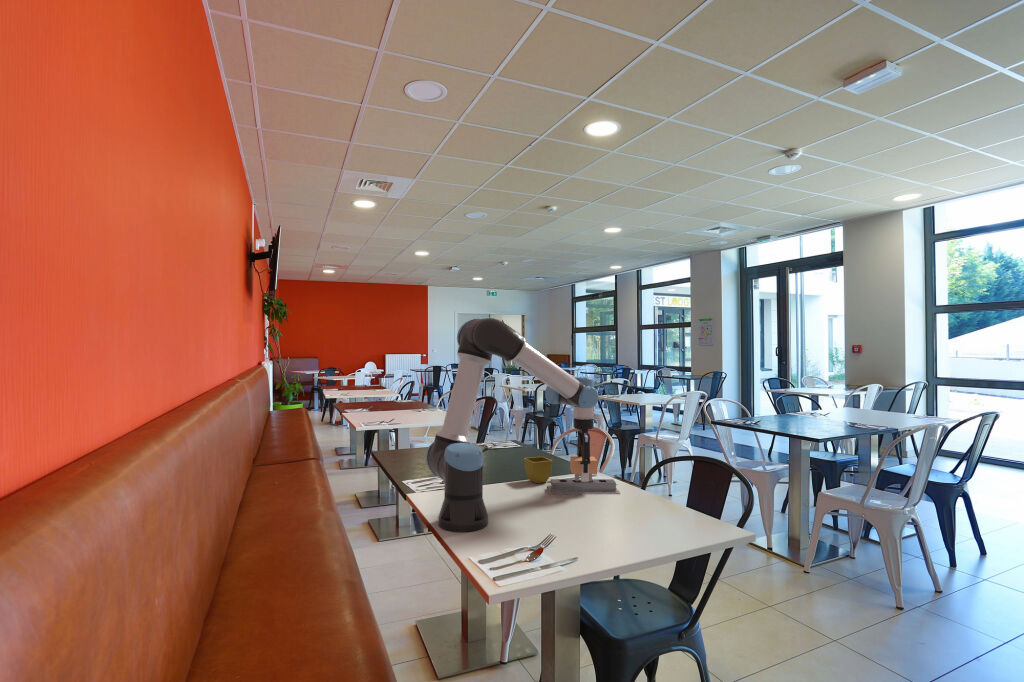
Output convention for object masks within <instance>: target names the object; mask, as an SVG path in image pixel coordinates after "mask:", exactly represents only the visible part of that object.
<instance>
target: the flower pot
mask: <svg viewBox="0 0 1024 682" xmlns="http://www.w3.org/2000/svg"><path fill="white" fill-rule="evenodd" d="M523 461H524V469H525V473H526V476H527V478H528V480H529V481H530V482H531V483H534V484H543V483H546V482H548V480H549V479H550V477H551V474H552V470H553V469H552V468H553V467H552V466H553V459H550V458H547V457H545V456H534V457H533V456H532V457H524V458H523Z"/></svg>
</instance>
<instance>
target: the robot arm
mask: <svg viewBox="0 0 1024 682" xmlns="http://www.w3.org/2000/svg"><path fill="white" fill-rule="evenodd" d="M456 334H457V335H456V341H457V344H458V349H457V353H456V355H457V356H458V358H459V363H458V367H457V371H456V375H455V379H454V381H453V382H454V383H453V387H452V390H451V393H450V397H449V401H448V405H447V409H446V413H445V417H444V420H443V425H442V429H440V430H439V431H437V432H436V434H435V437H434V440H433V442H432V443H431V444H429V446H428V448H427V450H426V452H425V463H426V465H427V466H426V467H428V470H430V472H431V473H432V474H433V475H435V476H436V477H438V478H440V479H441V480H443V481H444V490H443V491H444V497H443V502H442V504H441V507H440V510H439V513H438V517H437V519H438V523H437V524H438V526H439V527H440V528H441V529H443V530H446V531H450V532H456V533H457V532H459V533H461V532H463V533H465V532H467V533H468V532H474V531H478V530H481V529H483V528H485V527H487V526H488V524H489V514H488V511H487V508H486V504H485V501H484V497H483V489H484V488H483V486H484V485H483V484H484V483H483V481H484V455H483V454H484V453H483V449H481V447H480V446H478V445H476V444H474V443H473V444H472V443H471V440H470V438H469V437H468V433H469V430H470V425H471V422H472V418H473V414H474V410H475V407H476V403H477V399H478V395H479V391H480V387H481V382H482V379H483V375H484V371H485V367H486V366H487V365H488V364H490V363H491V361H492V357H493V355H495V356H497V357H499V358H502V360H504V361H506V362H513V363H514V364H516V365H517V366H518V367H520V368H521V369H523V370H524V371H526V372H527V373H528V374H530V375H532V376H533V377H534V378H535V379H538V380H539V381H540V382H542V383H543V384H544V385H546V388H545V391H544V395H545V400H546V402H547V403H548V404H551V405H566V406H573V413H572V414H573V417H574V418H573V428H574V429H576V430H577V431H576V432H577V433H576V434H577V440H576V441H577V442H576V443H577V446H576V449H577V450H576V457H582V462H580V464H581V474H579V477H580V479H581V481H582V482H589V464H590V456H591V436H590V433H589V430H593V429H594V427H595V426H594V422H595V421H594V412H596V409H595V408H594V407H596V405H597V404H598V402H599V400H600V399H599V398H600V397H599V392H598V390H597V389H596V388H595V382H594V379H593V377H590V376H575V377H574V376H573V375H571V374H570V373H569V372H568V371H565V370H564V369H563V368H561V367H560V366H559V365H557V364H556V363H555V362H553V361H552V360H550V359H549V358H548V357H547V356H545V355H544V354H542V353H541V352H540V351H538V350H537V349H535V348H534V347H533V346H532V345H530V344H528V342H526V338H525V336H523V335H522V334H520V333H519V332H517V331H516V330H515V329H514V328H512V327H511V326H509V325H508V324H507V323H505V322H504V321H501V320H500V319H497V318H493V317H487V318H486V317H485V318H473V319H469V320H468V321H466V322H464V323H463V324H462V325H461V326H460V327H459V329H458V330H457V333H456Z"/></svg>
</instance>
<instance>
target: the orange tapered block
mask: <svg viewBox="0 0 1024 682" xmlns="http://www.w3.org/2000/svg"><path fill="white" fill-rule="evenodd" d="M569 457H570V459H569V463H570V464H569V469H570V471H571V473H572V475H574V479H575V481H576V482H579V479H580V476H579V474H581V464H580V462H582V457H578V456H569ZM597 474H598V460H597V458H596V457H595V456H591V455H590V464H589V481H592V479H593V475H597Z"/></svg>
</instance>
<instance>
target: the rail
mask: <svg viewBox="0 0 1024 682" xmlns="http://www.w3.org/2000/svg"><path fill="white" fill-rule="evenodd" d="M546 487H547V490H548V493H549V494H550V495H605V494H607V495H621V492H620V491H619V490H618V488H617V482H616V481H615V480H614V479H613V478H609V479H605V478H600V479H599V478H596V479H594V478H592V481H589V482H582V481H581V478H579V482H576V481H575V478H570V479H569V478H559V479H558V478H557V479H553V478H552V479H550V485H549V484H548V485H546Z"/></svg>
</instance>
